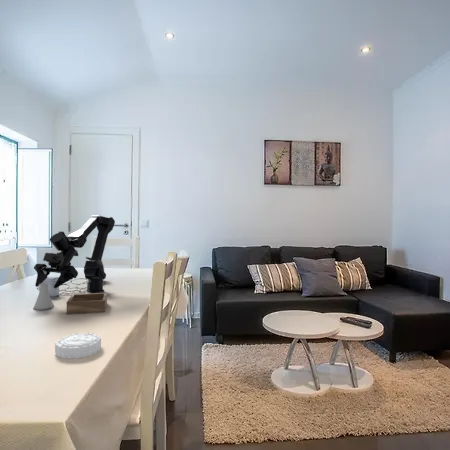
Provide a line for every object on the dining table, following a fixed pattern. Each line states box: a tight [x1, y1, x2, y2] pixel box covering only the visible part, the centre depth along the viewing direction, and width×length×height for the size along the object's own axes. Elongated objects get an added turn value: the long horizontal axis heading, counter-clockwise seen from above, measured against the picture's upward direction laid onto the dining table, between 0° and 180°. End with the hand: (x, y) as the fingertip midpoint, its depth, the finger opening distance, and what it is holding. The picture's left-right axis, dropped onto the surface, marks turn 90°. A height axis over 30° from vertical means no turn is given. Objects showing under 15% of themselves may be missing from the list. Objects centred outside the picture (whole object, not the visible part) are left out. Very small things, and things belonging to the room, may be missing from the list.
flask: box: [32, 283, 55, 311], centre depth 141 cm, size 7×7×10 cm
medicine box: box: [38, 275, 60, 298], centre depth 163 cm, size 8×4×9 cm, turn 71°
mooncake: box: [54, 332, 102, 360], centre depth 97 cm, size 12×12×4 cm
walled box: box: [65, 292, 108, 315], centre depth 141 cm, size 14×14×5 cm
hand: (45, 287), depth 141 cm, fingers open, 9 cm apart
